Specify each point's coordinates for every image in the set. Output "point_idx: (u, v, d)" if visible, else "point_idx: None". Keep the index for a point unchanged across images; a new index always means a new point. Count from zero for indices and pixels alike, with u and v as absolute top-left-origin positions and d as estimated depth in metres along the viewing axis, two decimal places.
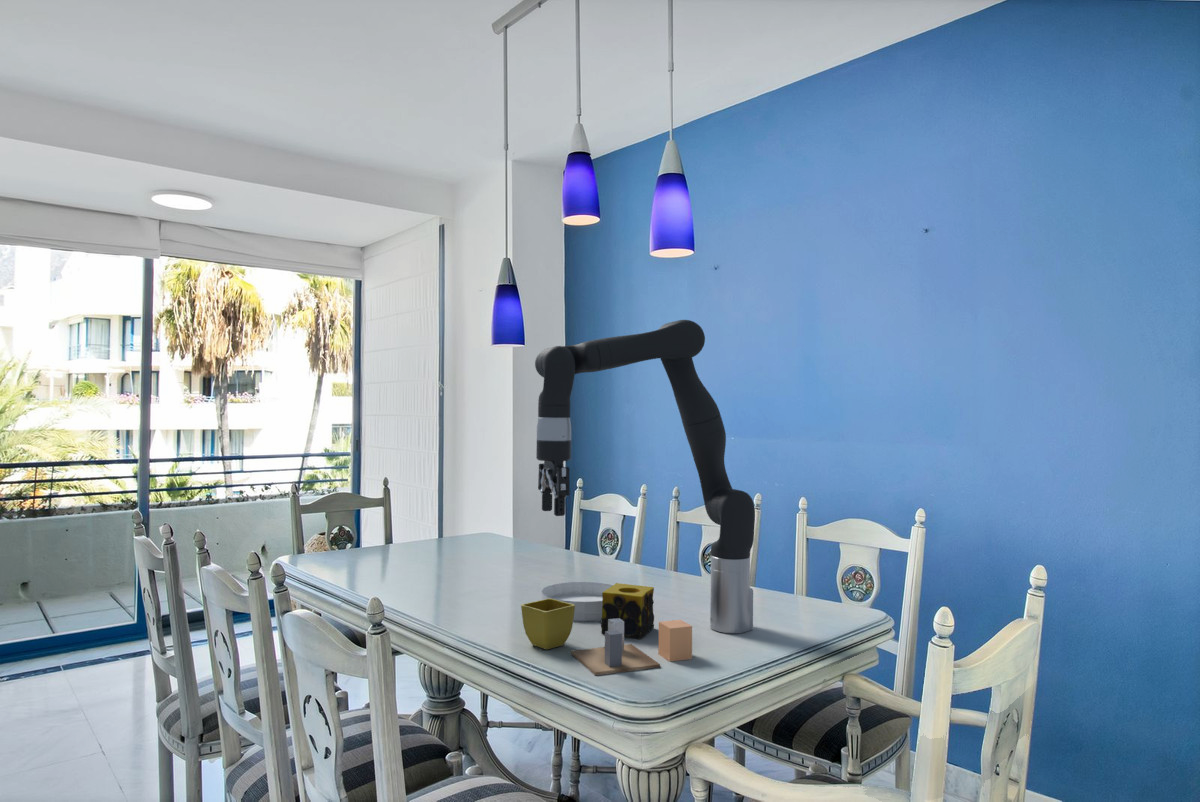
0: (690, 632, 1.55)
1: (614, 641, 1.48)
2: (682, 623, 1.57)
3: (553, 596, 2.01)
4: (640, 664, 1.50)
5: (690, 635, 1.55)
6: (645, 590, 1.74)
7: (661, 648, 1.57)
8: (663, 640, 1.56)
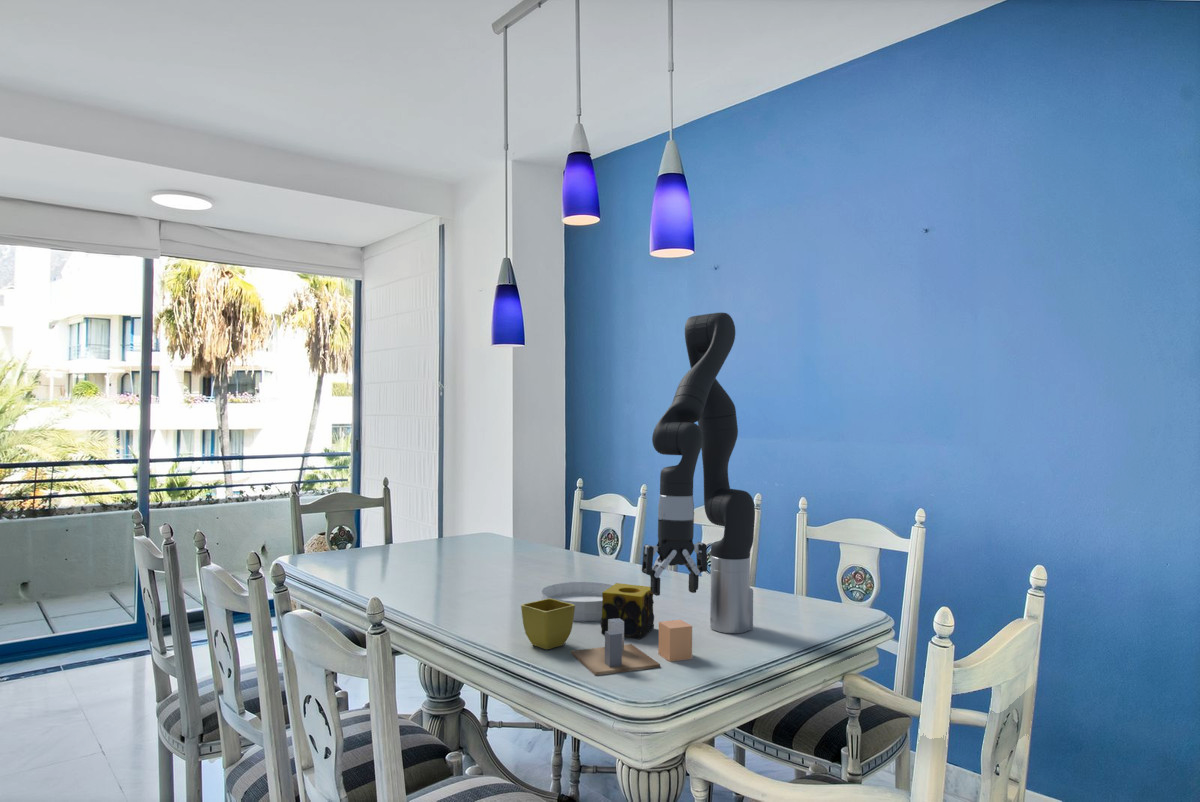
0: (690, 632, 1.55)
1: (614, 641, 1.48)
2: (682, 623, 1.57)
3: (553, 596, 2.01)
4: (640, 664, 1.50)
5: (690, 635, 1.55)
6: (645, 590, 1.74)
7: (661, 648, 1.57)
8: (663, 640, 1.56)
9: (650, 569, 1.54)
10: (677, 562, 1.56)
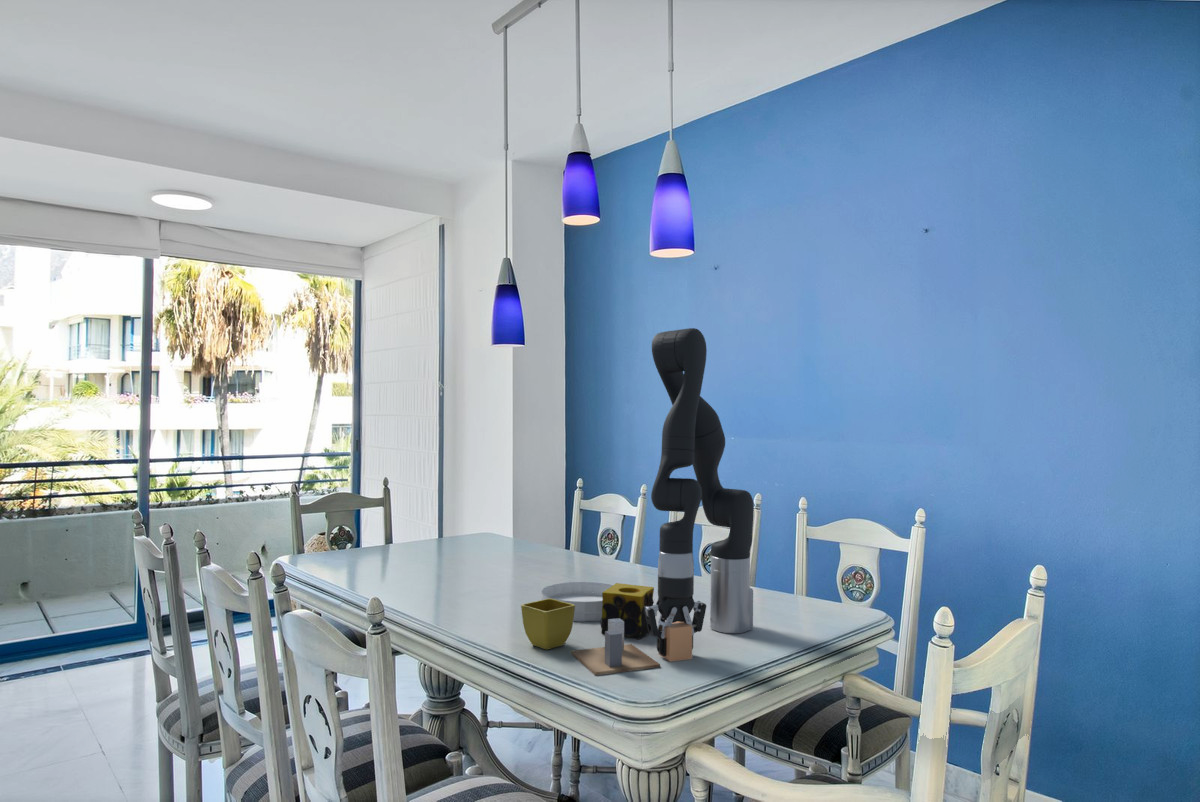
0: (690, 632, 1.55)
1: (614, 641, 1.48)
2: (682, 623, 1.57)
3: (553, 596, 2.01)
4: (640, 664, 1.50)
5: (690, 635, 1.55)
6: (645, 590, 1.74)
7: None
8: None
9: (657, 630, 1.54)
10: (677, 619, 1.56)
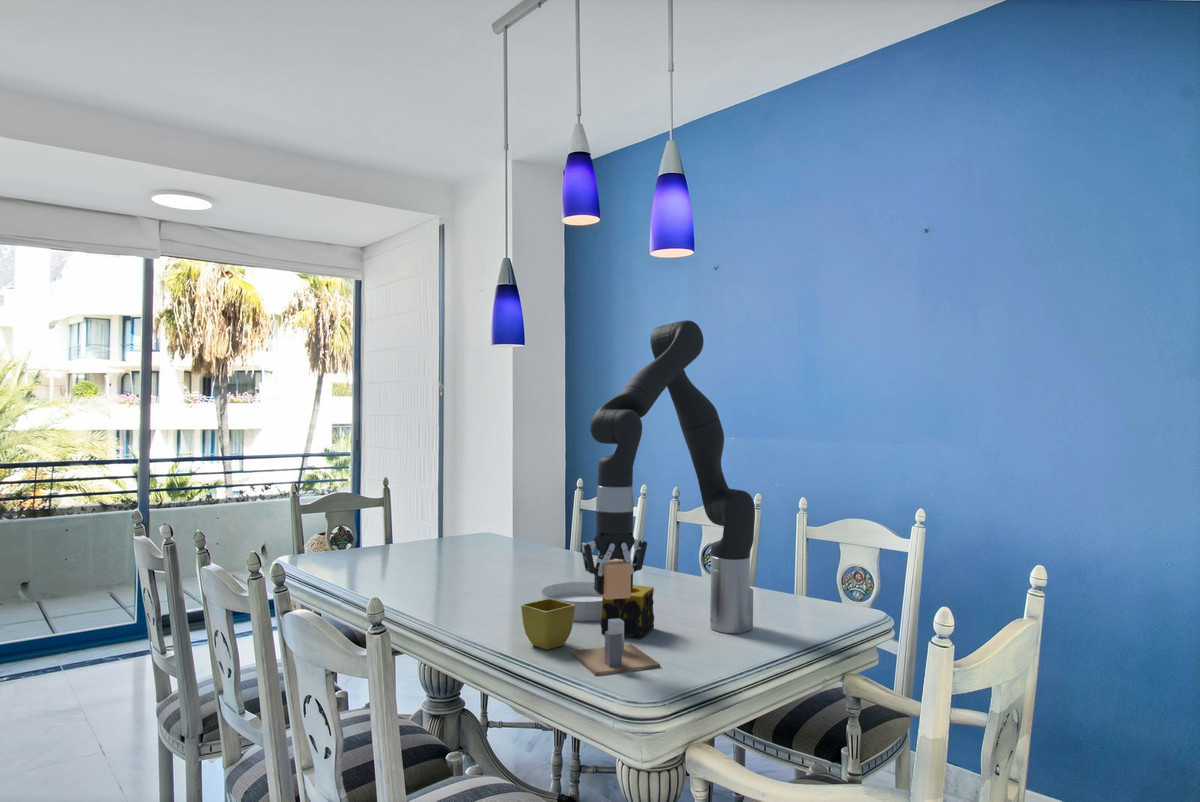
0: (629, 570, 1.48)
1: (614, 641, 1.48)
2: (622, 561, 1.50)
3: (553, 596, 2.01)
4: (640, 664, 1.50)
5: (629, 573, 1.48)
6: (645, 590, 1.74)
7: None
8: None
9: (593, 567, 1.47)
10: (616, 556, 1.49)
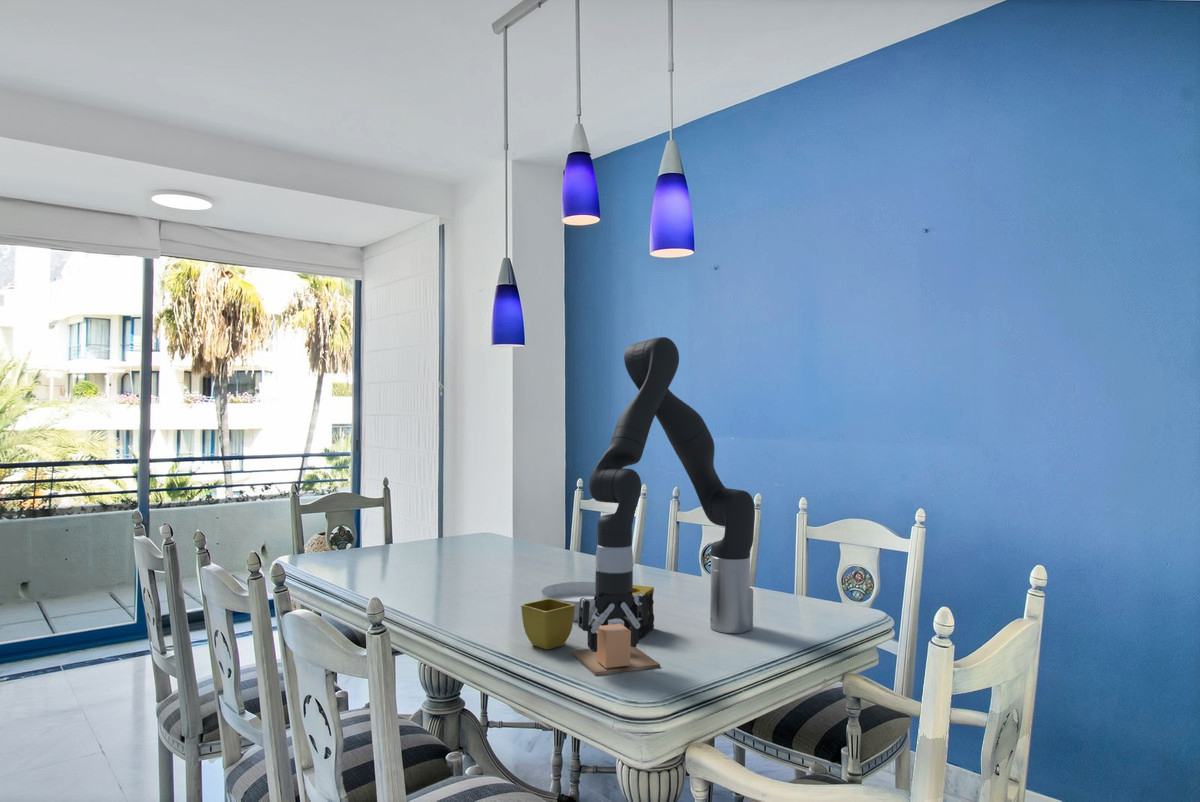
0: (628, 637, 1.48)
1: None
2: (621, 628, 1.50)
3: (553, 596, 2.01)
4: (640, 664, 1.50)
5: (628, 640, 1.48)
6: (645, 590, 1.74)
7: (599, 654, 1.49)
8: (600, 645, 1.49)
9: (586, 624, 1.46)
10: (615, 616, 1.48)
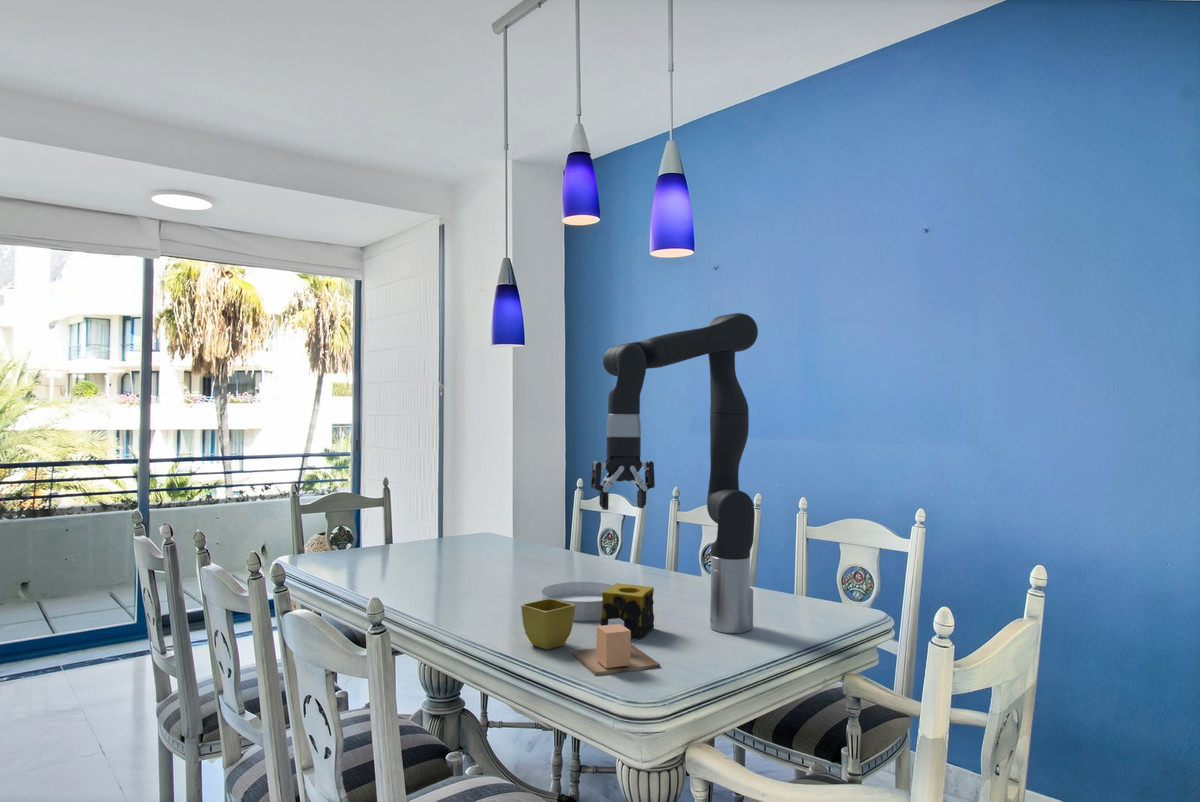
0: (628, 637, 1.48)
1: None
2: (621, 628, 1.50)
3: (553, 596, 2.01)
4: (640, 664, 1.50)
5: (628, 640, 1.48)
6: (645, 590, 1.74)
7: (599, 654, 1.49)
8: (600, 645, 1.49)
9: (598, 484, 1.60)
10: (625, 478, 1.63)
